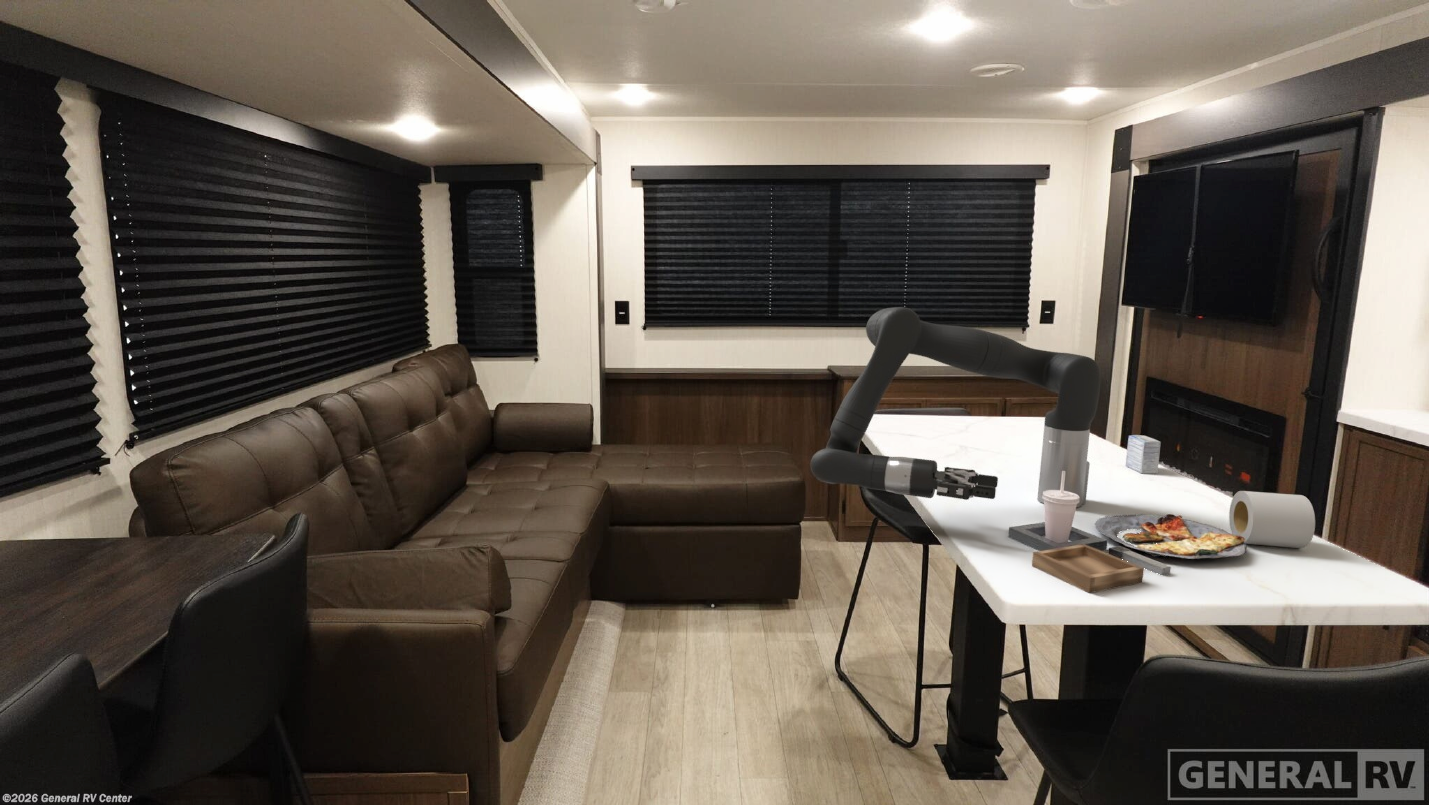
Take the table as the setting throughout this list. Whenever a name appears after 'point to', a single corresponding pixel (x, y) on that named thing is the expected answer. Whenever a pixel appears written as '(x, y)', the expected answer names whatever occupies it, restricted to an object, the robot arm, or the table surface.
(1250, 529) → the toilet paper
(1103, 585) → the tray
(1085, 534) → the socket
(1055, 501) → the smoothie
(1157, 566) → the bar
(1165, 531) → the food plate
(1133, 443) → the medicine box
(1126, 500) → the table surface
